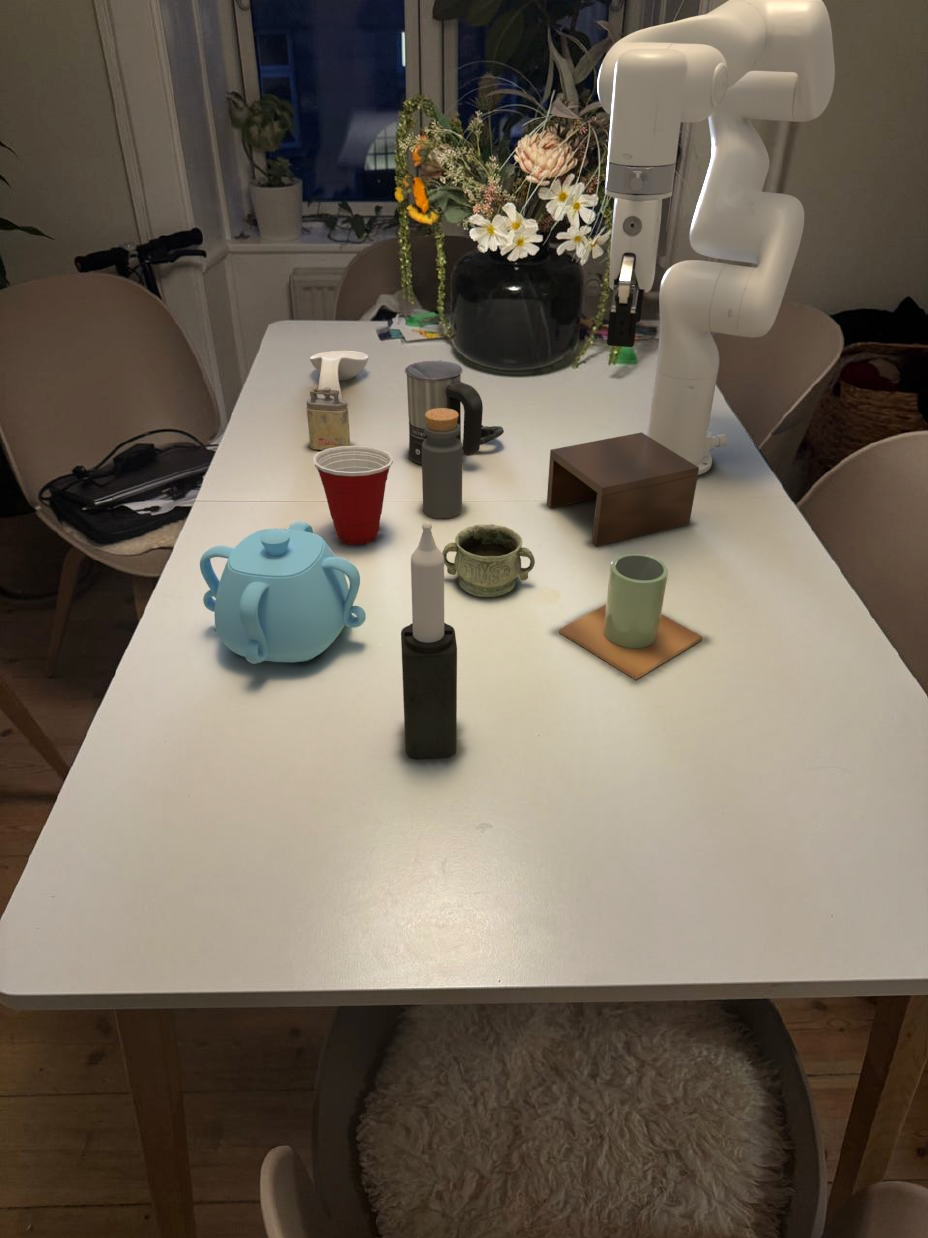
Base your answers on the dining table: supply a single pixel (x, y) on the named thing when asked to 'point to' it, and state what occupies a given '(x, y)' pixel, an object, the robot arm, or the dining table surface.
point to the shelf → (624, 485)
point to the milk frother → (444, 405)
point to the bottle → (442, 464)
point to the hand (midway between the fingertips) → (624, 332)
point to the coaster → (630, 659)
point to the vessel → (488, 560)
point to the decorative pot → (281, 595)
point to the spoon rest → (337, 368)
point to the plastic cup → (354, 489)
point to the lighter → (327, 420)
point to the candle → (429, 659)
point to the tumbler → (634, 600)
